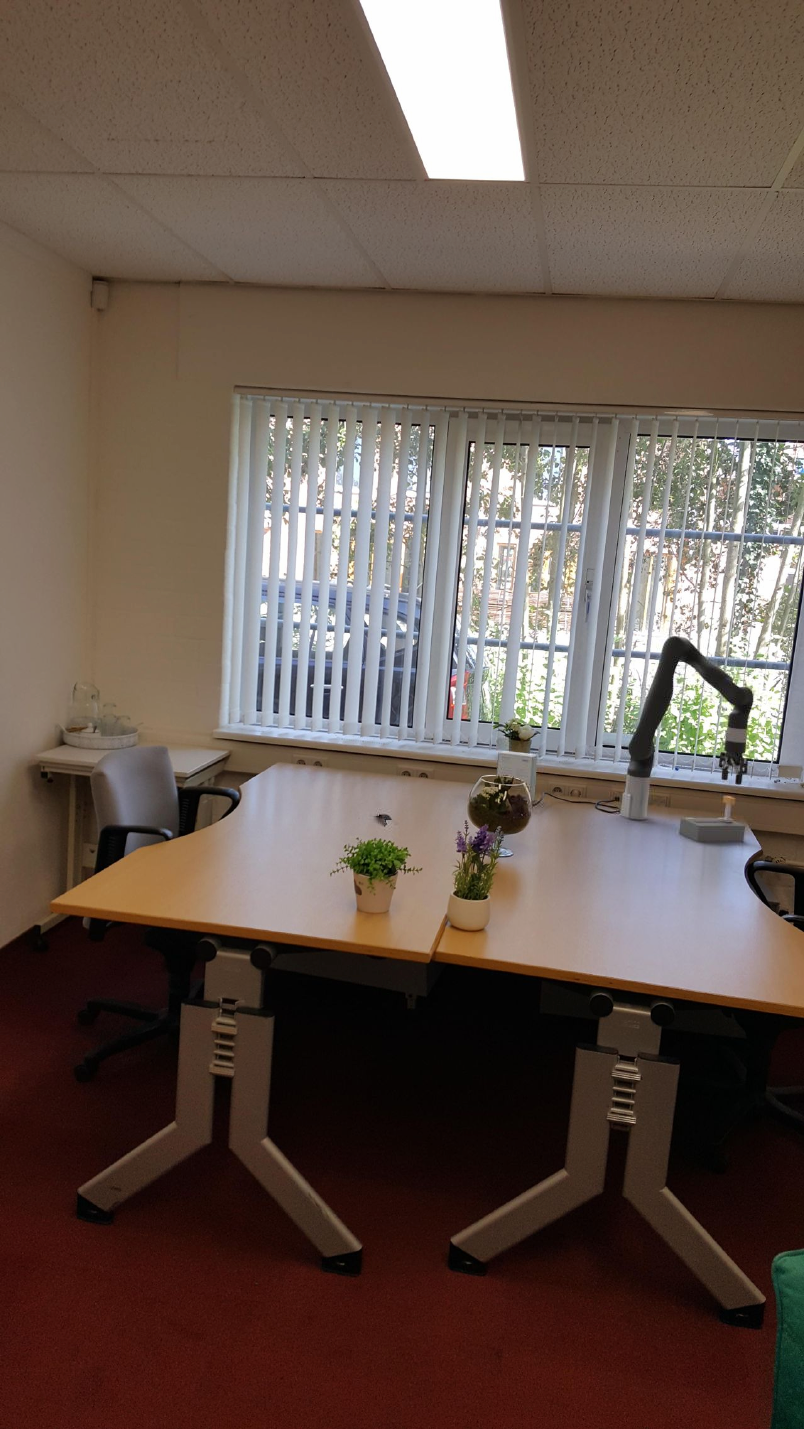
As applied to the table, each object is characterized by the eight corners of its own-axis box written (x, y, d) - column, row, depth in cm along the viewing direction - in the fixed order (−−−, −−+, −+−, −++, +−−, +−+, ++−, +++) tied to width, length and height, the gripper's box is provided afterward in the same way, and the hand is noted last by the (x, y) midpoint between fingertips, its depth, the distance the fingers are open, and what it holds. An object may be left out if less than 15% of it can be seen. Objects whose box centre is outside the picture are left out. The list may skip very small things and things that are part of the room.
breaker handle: (726, 822, 364) (729, 798, 363) (720, 820, 368) (722, 795, 367) (733, 822, 365) (736, 798, 364) (726, 820, 369) (729, 795, 368)
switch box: (697, 841, 357) (698, 825, 356) (679, 833, 369) (680, 817, 368) (743, 841, 363) (745, 825, 362) (724, 833, 374) (726, 817, 374)
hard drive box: (534, 801, 408) (538, 754, 406) (529, 804, 401) (533, 757, 399) (499, 795, 415) (503, 749, 412) (493, 798, 408) (497, 752, 405)
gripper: (756, 743, 357) (751, 786, 359) (732, 736, 371) (728, 778, 373) (738, 742, 355) (734, 786, 357) (716, 736, 368) (711, 778, 370)
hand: (731, 782), depth 365 cm, fingers open, 8 cm apart
